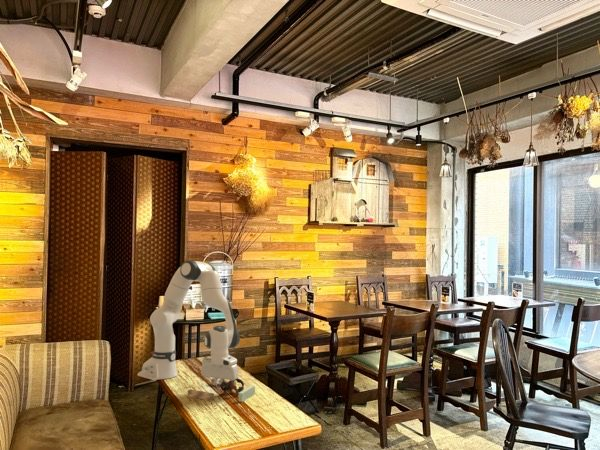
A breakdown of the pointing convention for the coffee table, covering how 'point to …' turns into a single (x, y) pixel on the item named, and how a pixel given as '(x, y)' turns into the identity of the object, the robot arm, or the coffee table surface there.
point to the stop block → (246, 393)
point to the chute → (205, 394)
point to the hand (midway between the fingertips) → (219, 386)
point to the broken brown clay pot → (232, 386)
